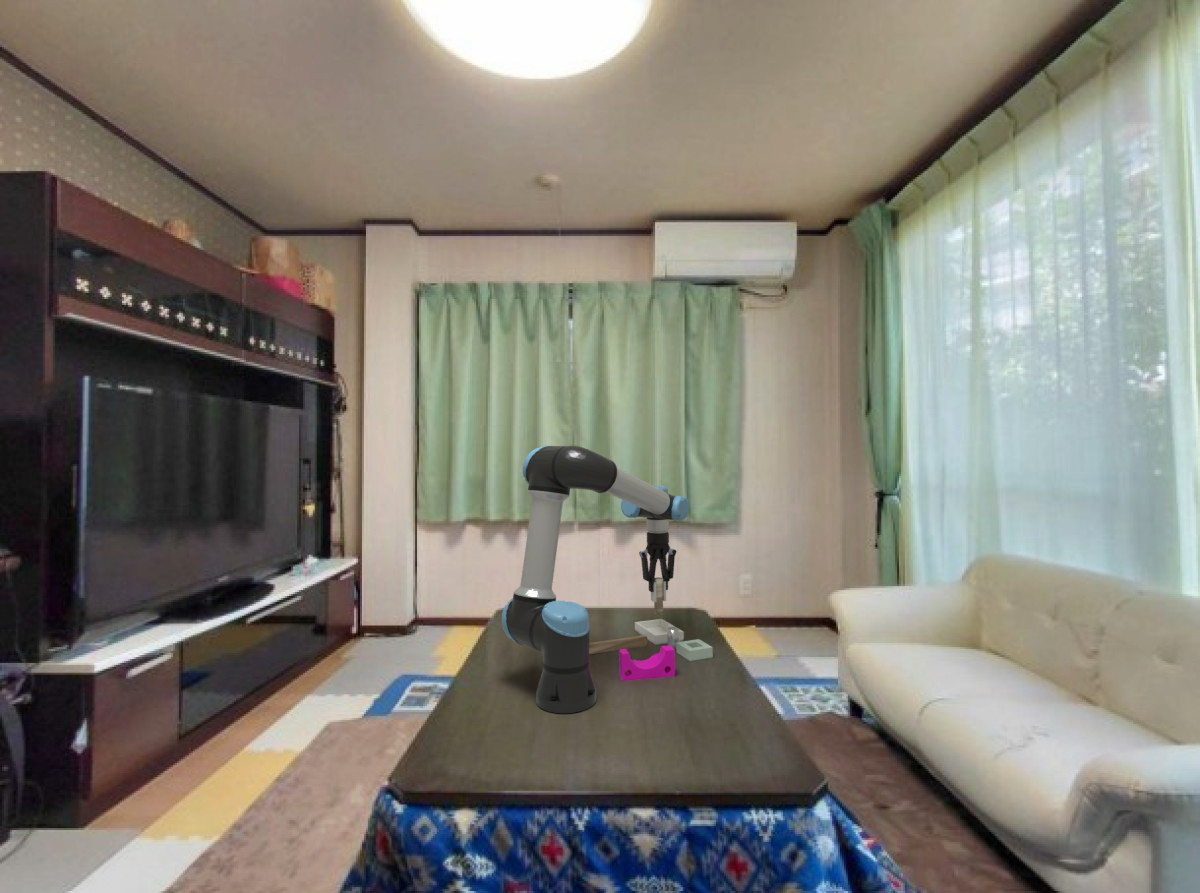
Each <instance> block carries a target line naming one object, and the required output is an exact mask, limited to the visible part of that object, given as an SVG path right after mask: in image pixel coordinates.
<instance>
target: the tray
mask: <svg viewBox="0 0 1200 893" xmlns="http://www.w3.org/2000/svg"><path fill="white" fill-rule="evenodd" d="M668 627H676V626H675V625H673V624H672V623H670V622H668V621H666V620H665V619H663V618H658V619H651V620H640V621H634V632H636V633H637V634H639V636H642V635H646V636H647V641H649V642H650V643H651V644H653V645H654V646H657V645H666V644H667V628H668ZM683 641H685V631H683V630H681V629H680V628H679V642H683Z"/></svg>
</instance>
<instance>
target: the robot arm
mask: <svg viewBox="0 0 1200 893" xmlns="http://www.w3.org/2000/svg"><path fill="white" fill-rule="evenodd" d="M522 476H523V478H524V481H525V482H526V484H528V489H527V493H528V494H529V496H530V497H531V507H530V513H529V514H530V515H529V520H528V527H527V536H526V541H525V543H526V544H525V552H524V557H523V563H522V564H523V565H522V571H521V578H520V585H519V587H518V588H516V589H515V590H514V591H513V595H512V598H511V599H510V600H508V601H507V604H505V605H504V607H503V610H502V613H501V627H502V629H503V631H504V633H505V635H506V636H507V637H508V639H510V640H511V641H513V642H515V643H517V644H519V645H521V646H526V647H529V648H531V649H533V650H536V651H539V652H542V672H541V676H540V677H539V681H538V684H537V687H536V688H537V689H536V692H535V704H536V705H537V706H538V707H539V708H540V709H542V710H543V711H546V712H550V713H556V714H573V713H580V712H582V711H586V710H589V709H590V708H591V707H593V706H594V705H595V703H596V702H597V688H596V685H595V682H594V679H593V675H592V673H591V671H590V654H589V643H590V629H591V628H590V626H591V625H590V621H589V620H590V619H589V612H588V611H587V609H586V608H585V606H584V605H581V604H579V603H577V602H573V601H570V600H569V601H565V600H557V595H556V594H555V592H554V591H553V583H554V575H555V566H556V559H557V552H558V542H559V535H560V527H561V520H562V510H563V504H564V502H565V501H566V500H567V499H568V498H570V495H571V494H570V493H571V490H575V489H576V490H577V489H579V490H585V491H593V492H595V493H598V494H605V493H607V494H609V495H611V496H613V497H616V498H617V499H620V500H621V502H620V510H621V512H622V514H623V515H624V517H627V518H629V519H636V518H646V531H647V532H646V548H645V549H644V550H643V551H639V552H638V553H639V558H640V560H641V568H642V569H641V570H642V578H643V580H644V581H646V582H648V591H649V592H650V600H651V602H653V603H654V602H657V595H656V582H654V579H655V578H656V569H657V563H658V561H659V565H660V572H661V578H663V602H666V601H667V591H668V589H669V582H670V581H671V579H674V572H675V571H674V570H675V559H676V558H675V557H676V554H677V550H676V549H673V548H671V547H670V545H669V543H670V533H669V532H668V531H669V530H670V529H669V528H670V525H669V524H670V523H669V522H670V521H669V520H671V521H675V522H676V521H683V520H685V519H687V518H688V516H689V514H690V502H689V500H688V499H687V498H686V496H682V495H679V494H678V495H673V494H671V493H669V491H668V490H669V489H668V486H666V485H665V486H664V485H652V484H650V483H649V482H647V481H644V480H642V479H640V478H638V477H636V476H635V475H632V474H630V473H628V472H626V471H624V470H622V469H620V468H618V466H617V464H616V463H615V462H614V461H613V460H612V459H609V458H607V457H605V456H603V455H601V454H600V453H598V452H595V451H593V450H590V449H588V448H586V447H581V446H579V445H578V446H577V445H545V446H541V447H536V448H534V449H533V450H532V451H530V452H529V453H528V454H527V455H526V457H525V458H524V462H523V465H522ZM648 555H649V560H648ZM667 555H668V556H667Z"/></svg>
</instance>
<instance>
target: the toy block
mask: <svg viewBox="0 0 1200 893" xmlns="http://www.w3.org/2000/svg"><path fill="white" fill-rule="evenodd" d="M628 651H629V650H628V649H619V650H618V676H619V679H620V680H621V681H622V682H631V681H641V680H650V679H652V680H653V679H662V678H673V677H675V676H676V659H675V658H676V657H675V656H676V649H675V650H674V649H673V648H672V647H671V646H667V645H661V646H660V650H659V653H653V655H651V656H650V657H649V658H647V659H645V660H637V659H634V658H633V659H632V658H631V656H630V655H631V654H630V652H628Z"/></svg>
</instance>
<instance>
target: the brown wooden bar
mask: <svg viewBox="0 0 1200 893" xmlns="http://www.w3.org/2000/svg"><path fill="white" fill-rule="evenodd" d="M647 646H648V640H647V636H646V635H642V636H641V635H637V636H630V637H629V636H628V637H621V638H615V639H607V640H600V641H593V642H589V655H595V654H601V653H609V652H614V651H615V652H617V651H619V649H626V650H628V649H635V648H636V649H637V648H642V647H647Z"/></svg>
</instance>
